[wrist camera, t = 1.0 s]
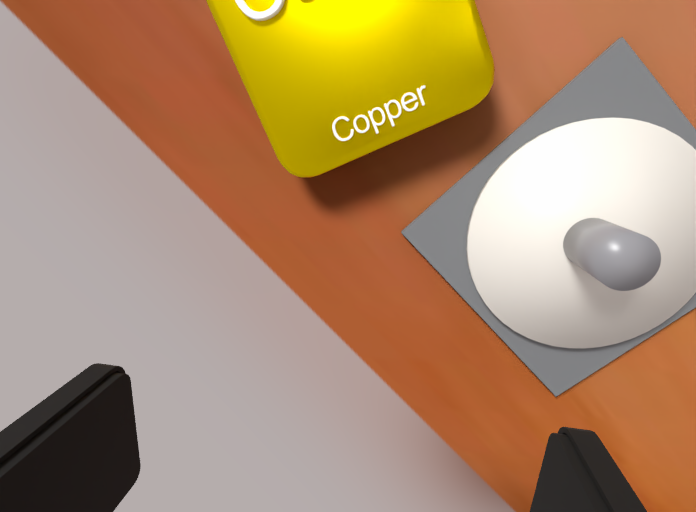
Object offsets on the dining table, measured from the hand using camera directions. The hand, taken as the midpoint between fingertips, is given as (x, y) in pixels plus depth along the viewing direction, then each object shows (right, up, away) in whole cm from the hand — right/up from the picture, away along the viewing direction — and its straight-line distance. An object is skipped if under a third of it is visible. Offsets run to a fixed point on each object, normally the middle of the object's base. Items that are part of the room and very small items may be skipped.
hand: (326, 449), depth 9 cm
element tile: (+1, +20, +20) cm, 28 cm away
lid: (+18, +5, +21) cm, 28 cm away
